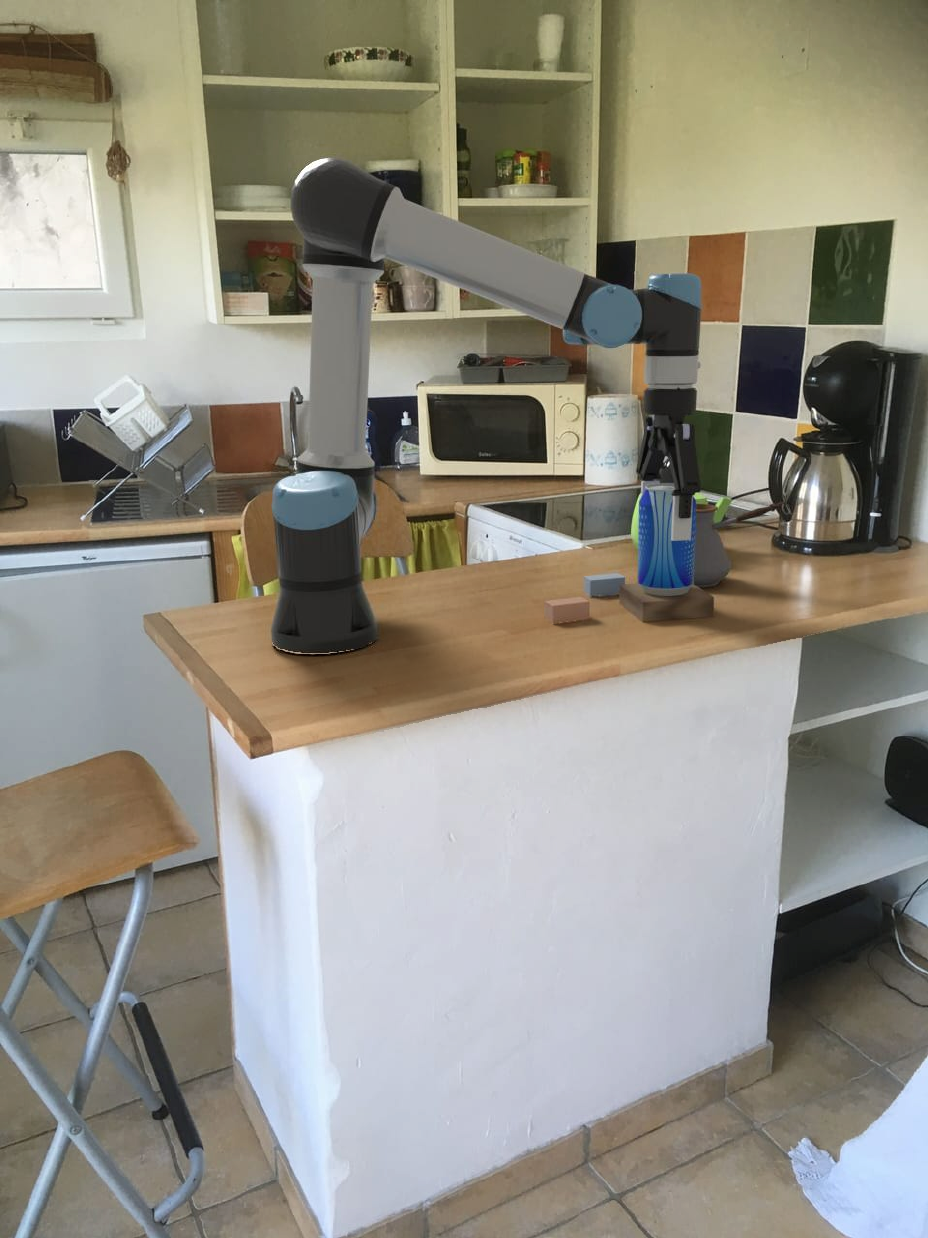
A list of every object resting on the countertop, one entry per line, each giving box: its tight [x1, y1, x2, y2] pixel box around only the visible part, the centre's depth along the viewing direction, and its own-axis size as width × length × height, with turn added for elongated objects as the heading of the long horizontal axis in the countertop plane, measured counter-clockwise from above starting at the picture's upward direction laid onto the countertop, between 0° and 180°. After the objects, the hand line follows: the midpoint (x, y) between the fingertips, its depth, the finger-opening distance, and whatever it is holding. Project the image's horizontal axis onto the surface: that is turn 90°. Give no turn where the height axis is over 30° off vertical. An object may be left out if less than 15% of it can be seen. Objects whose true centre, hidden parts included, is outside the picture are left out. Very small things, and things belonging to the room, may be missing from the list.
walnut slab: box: [619, 582, 715, 623], centre depth 156 cm, size 11×11×3 cm
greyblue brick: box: [583, 572, 626, 597], centre depth 167 cm, size 6×3×3 cm, turn 104°
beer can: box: [637, 483, 696, 596], centre depth 153 cm, size 8×8×16 cm
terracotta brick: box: [543, 596, 590, 624], centre depth 153 cm, size 6×3×3 cm, turn 109°
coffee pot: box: [694, 501, 791, 588], centre depth 167 cm, size 21×12×15 cm, turn 50°
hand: (664, 531), depth 153 cm, fingers open, 13 cm apart
